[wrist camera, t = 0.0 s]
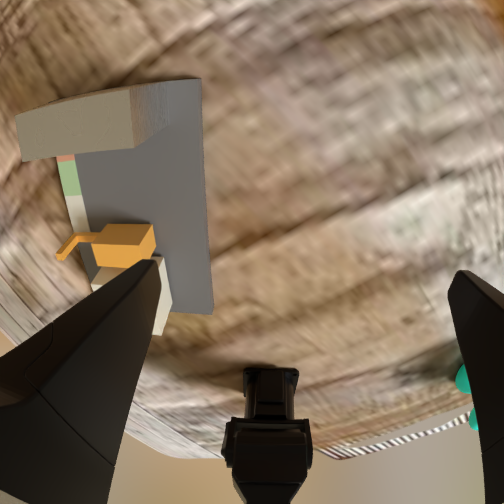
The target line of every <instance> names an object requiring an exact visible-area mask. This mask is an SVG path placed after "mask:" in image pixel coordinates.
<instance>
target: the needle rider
mask: <svg viewBox="0 0 504 504" xmlns="http://www.w3.org/2000/svg"><path fill="white" fill-rule="evenodd" d="M78 242H92V243H91V246H92V249H93V252H94V256H95V259H96V262H97V266H104V267H119V268H129V267H131V266H132V265H134V264H135V263H137V262H138V261H140V260H142V259H150V257H151V255H152V253H153V251H154V250H155V248H156V242H155V237H154V231H153V225H152V224H107V225H106V226H105V227H104V229H103V230H102V231H101V232H74V233H73V234H72V236H71V237H70V238H69V239H68V240H67V241H66V242H65V243H64V245H63V246H62V247H61V248H60V249H59V250H58V251H57V253H56V257H57V259H58V260H64V259H65V258H66V256H67V255H68V254H69V253H70V252H71V250H72V249H73V248H74V247H75V246H76V244H77V243H78Z"/></svg>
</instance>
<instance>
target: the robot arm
mask: <svg viewBox="0 0 504 504" xmlns="http://www.w3.org/2000/svg"><path fill="white" fill-rule="evenodd" d="M161 289H162V283H161V278H160V273H159V268H158V264H157V261H156V260H154V259H142V260H140V261H138V262H137V263H135V264H134V265H132V266H131V267H129V268H128V269H126V270H125V271H123V272H122V273H120V274H119V275H117V276H116V277H115V278H113V279H112V280H110V281H109V282H107V283H106V284H104V285H103V286H101V287H100V288H99V289H97V290H96V291H94V292H93V293H91V294H90V295H88V296H87V297H86V298H84V299H83V300H81V301H80V302H79V303H77V304H76V305H74V306H73V307H72V308H70V309H69V310H67V311H66V312H65V313H63V314H62V315H60V316H59V317H58V318H56V319H55V320H54V321H53V322H51V323H49V324H48V325H47V326H45V327H44V328H43V329H41V330H40V331H39V332H37V333H36V334H34V335H33V336H32V337H30V338H29V339H27V340H26V341H24V342H23V343H21V344H20V345H18V346H17V347H15V348H14V349H12V350H11V351H9V352H8V353H6V354H5V355H3V356H2V357H0V504H107V501H108V495H109V492H110V487H111V482H112V478H113V474H114V469H115V467H114V466H115V464H116V460H117V455H118V452H119V448H120V444H121V440H122V436H123V432H124V428H125V425H126V421H127V417H128V414H129V410H130V406H131V403H132V399H133V396H134V392H135V389H136V386H137V382H138V379H139V376H140V372H141V369H142V366H143V362H144V359H145V356H146V353H147V350H148V347H149V343H150V340H151V337H152V332H153V328H154V323H155V318H156V313H157V308H158V304H159V299H160V294H161ZM448 301H449V305H450V309H451V314H452V318H453V322H454V327H455V332H456V336H457V340H458V344H459V347H460V351H461V354H462V358H463V362H464V365H465V369H466V373H467V377H468V381H469V385H470V390H471V394H472V399H473V404H474V409H475V414H476V419H477V425H478V431H479V438H480V444H481V452H482V463H483V472H484V487H485V504H502V503H504V294H503V293H502V292H500V291H499V290H497V289H496V288H494V287H493V286H491V285H490V284H489V283H487V282H486V281H484V280H483V279H481V278H480V277H478V276H477V275H475V274H474V273H472V272H471V271H468V270H459V271H457V272H456V274H455V276H454V279H453V281H452V283H451V285H450V288H449V290H448ZM298 377H299V371H298V370H282V369H252V368H246V369H244V371H243V382H244V397H246V403H245V416H244V418H236V417H231V421H230V422H227V423H226V429H225V436H224V440H223V444H222V449H221V455H222V456H223V457H224V458H225V461H226V463H227V468H232V478H233V485H234V488H235V489H236V491H237V493H238V494H239V496H240V498H241V499H242V501H243V502H244V504H290V502H291V501H292V499H293V498H294V496H295V495H296V493H297V492H298V490H299V489H300V487H301V486H302V484H303V482H304V481H305V479H306V477H307V469H310V468H311V465H312V458H313V446H312V438H311V432H310V425H309V419H294V394H295V390H296V386H297V382H298Z"/></svg>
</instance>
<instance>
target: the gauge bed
mask: <svg viewBox="0 0 504 504" xmlns="http://www.w3.org/2000/svg"><path fill="white" fill-rule="evenodd" d="M15 122H16V128H17V135H18V141H19V146H20V151H21V156H22V161H23V162H26V161H31V160H37V159H43V158H50V157H56V159H57V164H58V169H59V174H60V179H61V183H62V188H63V192H64V196H65V200H66V204H67V208H68V212H69V216H70V220H71V223H72V227H73V231H74V232H101V231H102V230H103V229H104V227H105V226H106V225H107V224H152V225H153V231H154V237H155V242H156V248H155V250H154V251H153V253H152V255H151V256H152V257H164V261H165V266H166V272H167V277H168V283H169V288H170V293H171V298H172V306H171V308H170V311H169V312H181V313H194V314H208V315H212V313H213V308H214V301H213V290H212V278H211V266H210V253H209V240H208V226H207V210H206V194H205V175H204V154H203V129H202V94H201V78H198V79H183V80H171V81H161V82H152V83H143V84H136V85H129V86H122V87H116V88H110V89H105V90H99V91H94V92H89V93H84V94H80V95H75V96H71V97H67V98H62V99H58V100H55V101H52V102H49V103H48V104H46V105H43V106H40V107H37V108H34V109H31V110H28V111H25V112H23V113H20V114H17V115H15ZM91 243H92V242H78V243H77V244H78V247H79V251H80V254H81V257H82V260H83V263H84V266H85V269H86V272H87V275H88V278H89V281H90V283H92V281H93V279H94V278H95V276H96V275H97V273H98V272H99V270H100V269H101V267H102V266H97V262H96V259H95V256H94V252H93V249H92V246H91Z"/></svg>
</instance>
